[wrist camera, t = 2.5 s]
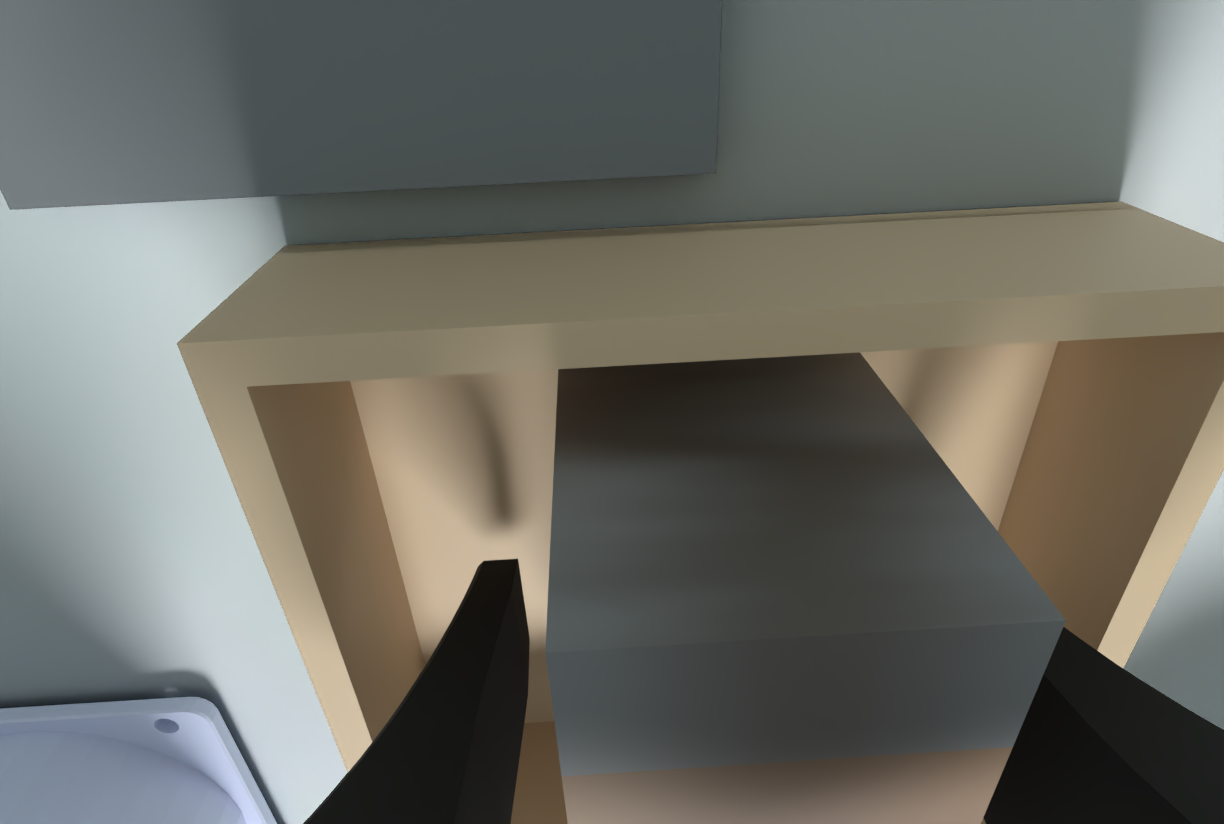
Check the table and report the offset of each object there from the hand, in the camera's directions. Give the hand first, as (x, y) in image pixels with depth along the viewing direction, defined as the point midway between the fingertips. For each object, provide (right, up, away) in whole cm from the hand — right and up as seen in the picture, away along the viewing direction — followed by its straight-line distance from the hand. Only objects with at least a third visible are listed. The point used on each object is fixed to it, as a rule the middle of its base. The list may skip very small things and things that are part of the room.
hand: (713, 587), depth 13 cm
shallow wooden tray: (0, +1, +2) cm, 2 cm away
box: (0, +1, +1) cm, 1 cm away
